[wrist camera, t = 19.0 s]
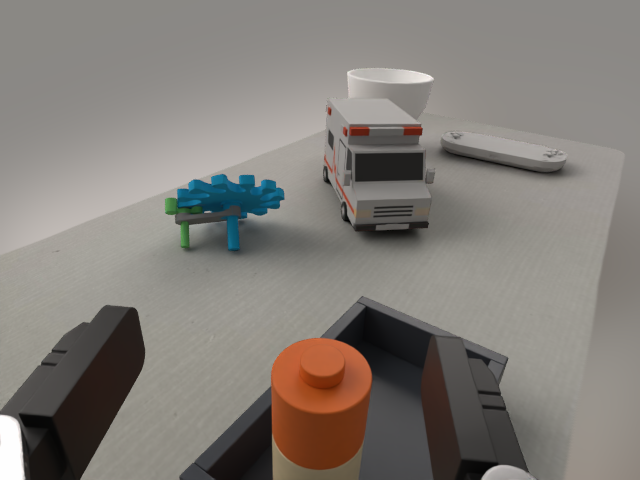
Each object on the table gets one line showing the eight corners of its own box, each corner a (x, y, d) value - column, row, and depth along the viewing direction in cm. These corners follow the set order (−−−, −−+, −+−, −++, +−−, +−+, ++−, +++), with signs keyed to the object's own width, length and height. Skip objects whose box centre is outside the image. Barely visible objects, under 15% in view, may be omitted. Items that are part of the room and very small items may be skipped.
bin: (373, 689, 16) (385, 645, 14) (187, 526, 20) (178, 476, 19) (493, 402, 27) (508, 357, 25) (357, 338, 32) (362, 295, 30)
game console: (435, 136, 68) (452, 125, 74) (433, 152, 69) (449, 139, 76) (564, 162, 60) (570, 147, 66) (558, 179, 61) (565, 162, 68)
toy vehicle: (344, 240, 44) (352, 141, 39) (315, 175, 59) (319, 97, 54) (435, 236, 46) (454, 140, 41) (385, 174, 60) (394, 98, 55)
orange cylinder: (269, 557, 19) (265, 399, 14) (276, 475, 22) (275, 323, 17) (355, 558, 19) (380, 402, 14) (350, 477, 22) (368, 326, 17)
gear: (288, 201, 47) (276, 161, 38) (293, 255, 46) (281, 228, 36) (184, 212, 47) (146, 175, 38) (185, 267, 46) (146, 242, 36)
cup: (384, 133, 77) (392, 65, 72) (439, 155, 68) (453, 79, 63) (326, 143, 71) (329, 70, 65) (377, 168, 62) (387, 85, 56)
